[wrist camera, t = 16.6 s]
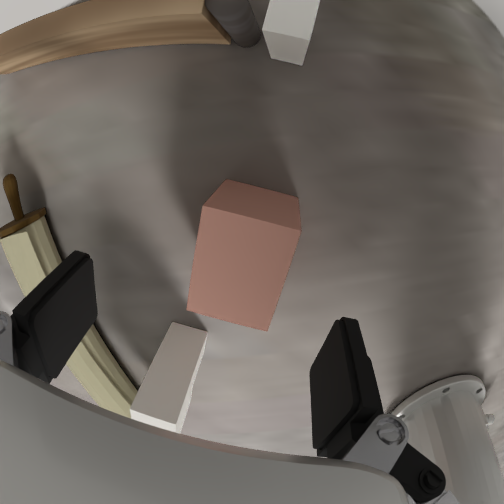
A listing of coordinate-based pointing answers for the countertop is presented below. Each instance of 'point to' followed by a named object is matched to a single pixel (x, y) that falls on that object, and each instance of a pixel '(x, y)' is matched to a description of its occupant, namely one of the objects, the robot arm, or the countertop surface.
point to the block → (243, 253)
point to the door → (126, 28)
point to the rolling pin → (32, 273)
